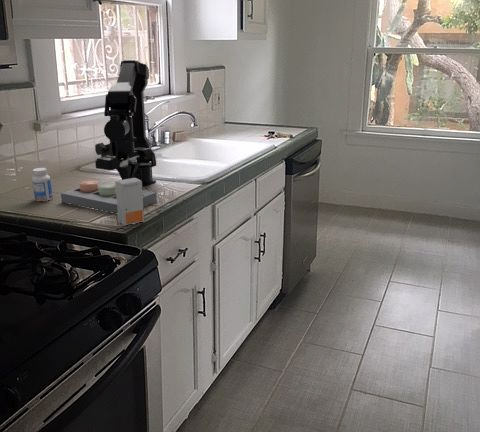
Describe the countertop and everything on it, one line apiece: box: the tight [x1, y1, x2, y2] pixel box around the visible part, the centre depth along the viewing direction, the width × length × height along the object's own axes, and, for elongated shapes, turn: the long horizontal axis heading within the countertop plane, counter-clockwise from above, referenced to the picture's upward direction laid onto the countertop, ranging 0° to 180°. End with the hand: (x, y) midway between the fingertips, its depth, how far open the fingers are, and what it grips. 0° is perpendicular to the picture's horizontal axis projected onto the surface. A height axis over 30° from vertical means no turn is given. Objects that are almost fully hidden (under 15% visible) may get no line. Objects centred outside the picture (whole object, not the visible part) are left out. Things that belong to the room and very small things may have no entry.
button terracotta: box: [79, 180, 99, 194], centre depth 167 cm, size 6×6×3 cm
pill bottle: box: [31, 167, 54, 202], centre depth 166 cm, size 6×5×10 cm
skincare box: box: [114, 178, 145, 226], centre depth 145 cm, size 6×4×12 cm
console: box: [60, 181, 157, 214], centre depth 164 cm, size 15×25×3 cm, turn 59°
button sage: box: [98, 183, 116, 197], centre depth 163 cm, size 6×6×3 cm
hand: (127, 186), depth 158 cm, fingers closed
